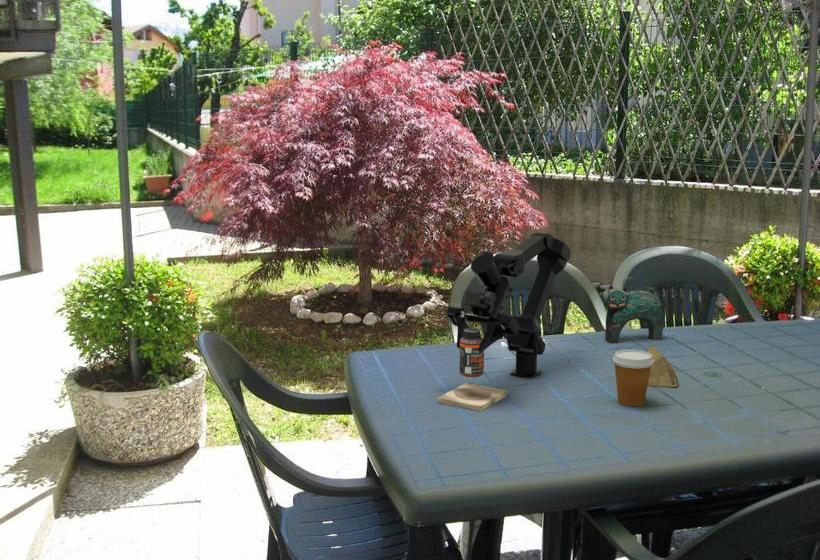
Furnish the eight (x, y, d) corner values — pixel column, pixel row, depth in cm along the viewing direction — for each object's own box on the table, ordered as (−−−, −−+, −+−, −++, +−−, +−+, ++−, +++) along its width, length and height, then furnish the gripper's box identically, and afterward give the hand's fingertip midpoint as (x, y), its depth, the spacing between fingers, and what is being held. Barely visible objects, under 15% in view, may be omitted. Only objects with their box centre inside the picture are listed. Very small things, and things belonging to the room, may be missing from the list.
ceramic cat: (606, 344, 263) (608, 280, 260) (597, 339, 270) (599, 276, 266) (666, 340, 267) (669, 277, 264) (656, 335, 274) (659, 273, 270)
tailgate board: (467, 386, 225) (467, 381, 224) (509, 393, 218) (509, 388, 218) (437, 402, 212) (437, 397, 212) (480, 411, 206) (480, 405, 206)
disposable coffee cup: (629, 411, 205) (631, 362, 203) (603, 399, 213) (604, 352, 211) (660, 404, 209) (662, 356, 207) (632, 393, 218) (634, 347, 215)
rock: (689, 377, 224) (660, 363, 231) (680, 356, 219) (651, 343, 227) (664, 405, 221) (635, 390, 229) (654, 385, 216) (626, 371, 224)
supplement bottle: (472, 379, 209) (472, 334, 206) (454, 374, 213) (454, 330, 211) (488, 374, 213) (489, 329, 210) (470, 369, 217) (470, 325, 215)
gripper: (448, 274, 217) (423, 326, 210) (513, 282, 206) (489, 337, 199) (466, 299, 225) (442, 350, 218) (529, 308, 213) (506, 362, 207)
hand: (468, 349), depth 210 cm, fingers closed on supplement bottle, 6 cm apart
